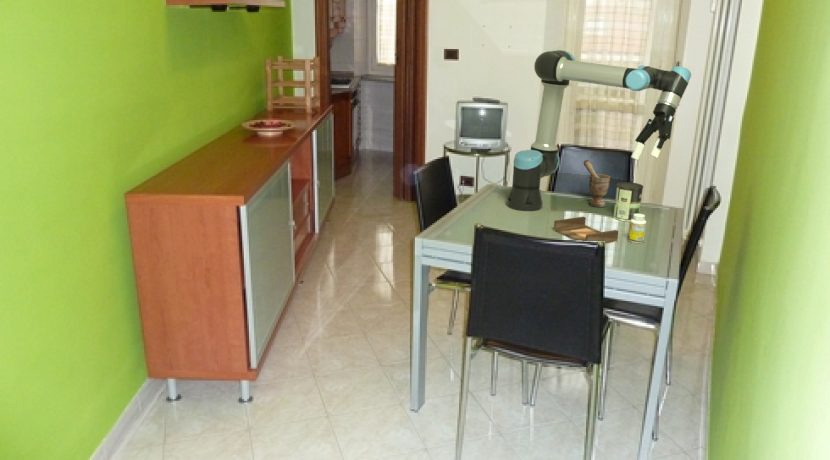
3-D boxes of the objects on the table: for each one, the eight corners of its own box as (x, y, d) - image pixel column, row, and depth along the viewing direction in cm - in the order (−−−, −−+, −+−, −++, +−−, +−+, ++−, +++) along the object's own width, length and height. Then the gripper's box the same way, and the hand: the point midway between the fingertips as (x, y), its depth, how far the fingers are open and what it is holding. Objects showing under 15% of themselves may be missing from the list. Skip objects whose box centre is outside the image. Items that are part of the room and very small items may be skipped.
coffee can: (637, 215, 277) (641, 182, 273) (640, 222, 267) (644, 189, 263) (611, 213, 279) (615, 181, 274) (613, 220, 269) (617, 187, 265)
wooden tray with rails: (553, 230, 255) (554, 220, 254) (582, 226, 261) (583, 216, 260) (587, 246, 239) (588, 235, 238) (617, 241, 245) (618, 231, 244)
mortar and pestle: (587, 208, 285) (592, 163, 278) (576, 203, 292) (581, 158, 286) (610, 207, 288) (616, 162, 282) (599, 201, 296) (604, 157, 290)
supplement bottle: (631, 237, 249) (635, 211, 246) (646, 241, 246) (649, 214, 243) (625, 241, 245) (628, 214, 242) (640, 244, 242) (643, 218, 239)
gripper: (694, 106, 238) (670, 159, 237) (656, 115, 263) (634, 163, 262) (677, 97, 237) (653, 150, 236) (640, 106, 261) (618, 155, 260)
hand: (643, 157), depth 249 cm, fingers open, 13 cm apart
